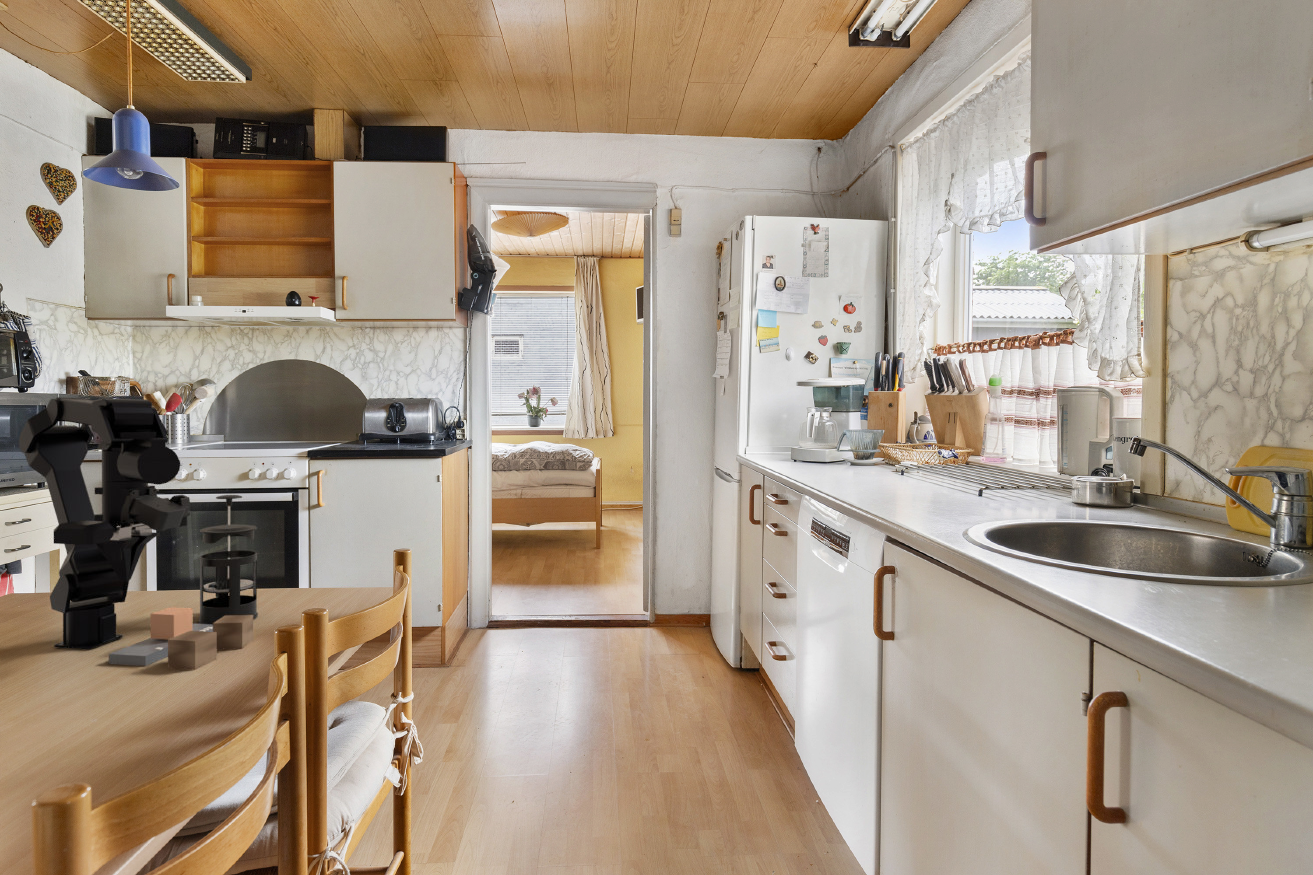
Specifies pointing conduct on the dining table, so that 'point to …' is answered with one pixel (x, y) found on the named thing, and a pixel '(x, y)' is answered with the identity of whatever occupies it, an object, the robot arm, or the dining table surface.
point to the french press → (228, 573)
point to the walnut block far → (234, 631)
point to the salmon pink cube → (171, 622)
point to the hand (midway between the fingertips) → (125, 580)
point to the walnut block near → (192, 650)
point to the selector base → (148, 650)
